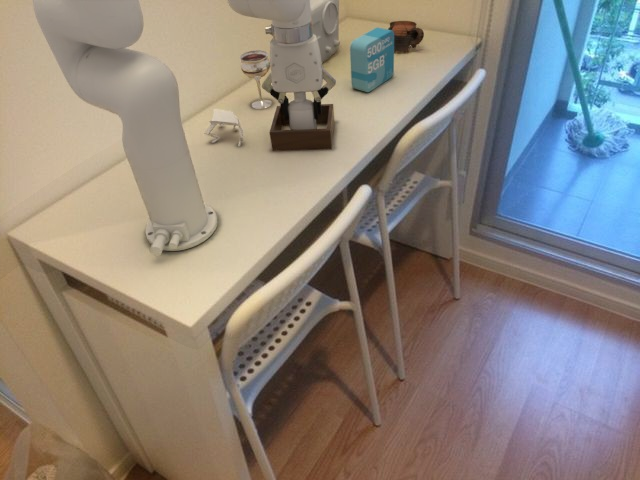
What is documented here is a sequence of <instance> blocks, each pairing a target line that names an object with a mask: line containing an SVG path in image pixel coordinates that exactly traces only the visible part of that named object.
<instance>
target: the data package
mask: <svg viewBox="0 0 640 480" xmlns="http://www.w3.org/2000/svg"><path fill="white" fill-rule="evenodd" d="M349 55H350V56H349V57H350V59H349V60H350V79H351V82H350V83H351V87H352V89H354V90H359V91H362V92H365V93H370V92H371V91H373V90H375V89H376V88H377V87H379V86H380V85H381V86H382V85H383V84H384V83H385V82H387V81H389V80H390V79H391V78H392V77H393V75H394V72H395V69H394V68H395V51H394V32H393V31H392V30H388V28H387V29H386V28H382V27H375V28H373V29H371V30H370V31H368V32H365V33H364V34H362V35H360V36H358V37H357V38H354V39H353V40H352V41H351V43H350V47H349Z"/></svg>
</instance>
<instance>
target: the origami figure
mask: <svg viewBox="0 0 640 480" xmlns="http://www.w3.org/2000/svg"><path fill="white" fill-rule="evenodd" d="M212 114H213V115H212V118H211V120H209V123H210V125H209V126H208V127H207V129H206V130H205V131H204V133H203V134H204V135H207V136H210V137H213V138H214V139H213V140H212V141H211V143H216V142H217V141H218V140H219V139H220V138H221V137H220V136H218V135H216V134H214V133H211V132H212V131H213V129H214V128H215V127H216V126H217V125H218V127H219V128H222V127H223V126H233V128H232V129H233V130H234V131H235V132H237V129H236V127H238V130H239V135H240V139H239V141H238V144H237V146H238V147H240V146H241V145H242V141H243V140H244V138H245V134H244V131H243V128H242V126H241V122H240V120H239V118H238V116H236V114H234V112H233V111H232V110H226V109H219V108H213V113H212ZM222 125H223V126H222Z"/></svg>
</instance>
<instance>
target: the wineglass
mask: <svg viewBox="0 0 640 480" xmlns="http://www.w3.org/2000/svg"><path fill="white" fill-rule="evenodd" d="M268 57H269V52H268V51H266V50H261V49H254V50H248V51H245V52H243V53H242V54H240V55H239V60H240V61H241V62H240V70H241V71H242V73H243V74H244V75H245V76H247V77H248V78H250V79H253V80H254V81H256V87H257V91H258V96H259V99H257V100H255V101H253V102H252V103H251V108H253V109H256V110H263V109H267V108H270V106H272V101H271V100H270V99H264V98H263V97H262V90H261V89H262V88H261V81H260V80H261V78H263V77H265V76H266V75H267V73H268V72H269V71H270V69H271V67H270V58H268Z"/></svg>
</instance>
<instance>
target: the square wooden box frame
mask: <svg viewBox="0 0 640 480" xmlns="http://www.w3.org/2000/svg"><path fill="white" fill-rule="evenodd" d="M321 106H322V114H319V118H318V120H316V125H326V128H317V129H297V130H290V129H283V126H290V122H289V120H288V121H285V115H282V112H281V105H277V106H276V108H275V112H274V115H273V118H272V122H271V125H270V129H269V137H270V144H271V150H272V152H280V151H281V152H283V151H313V150H314V151H315V150H332V149H333V140H334V133H335V132H334V131H335V110H334V109H335V108H334V103H321Z"/></svg>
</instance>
